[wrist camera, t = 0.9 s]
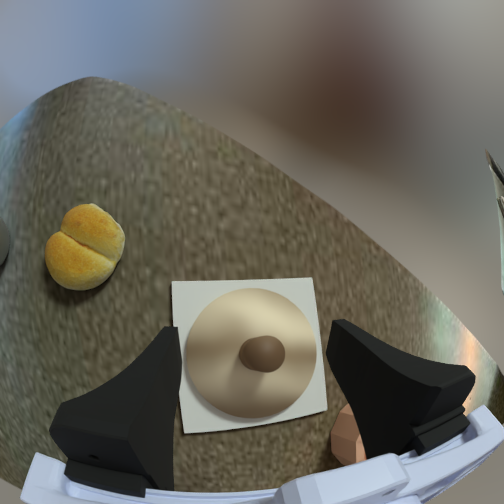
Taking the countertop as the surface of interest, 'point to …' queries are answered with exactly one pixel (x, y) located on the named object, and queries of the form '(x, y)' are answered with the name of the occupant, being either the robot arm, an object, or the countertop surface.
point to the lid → (251, 353)
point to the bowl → (347, 438)
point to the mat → (184, 315)
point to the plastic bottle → (4, 240)
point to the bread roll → (84, 248)
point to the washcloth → (501, 204)
